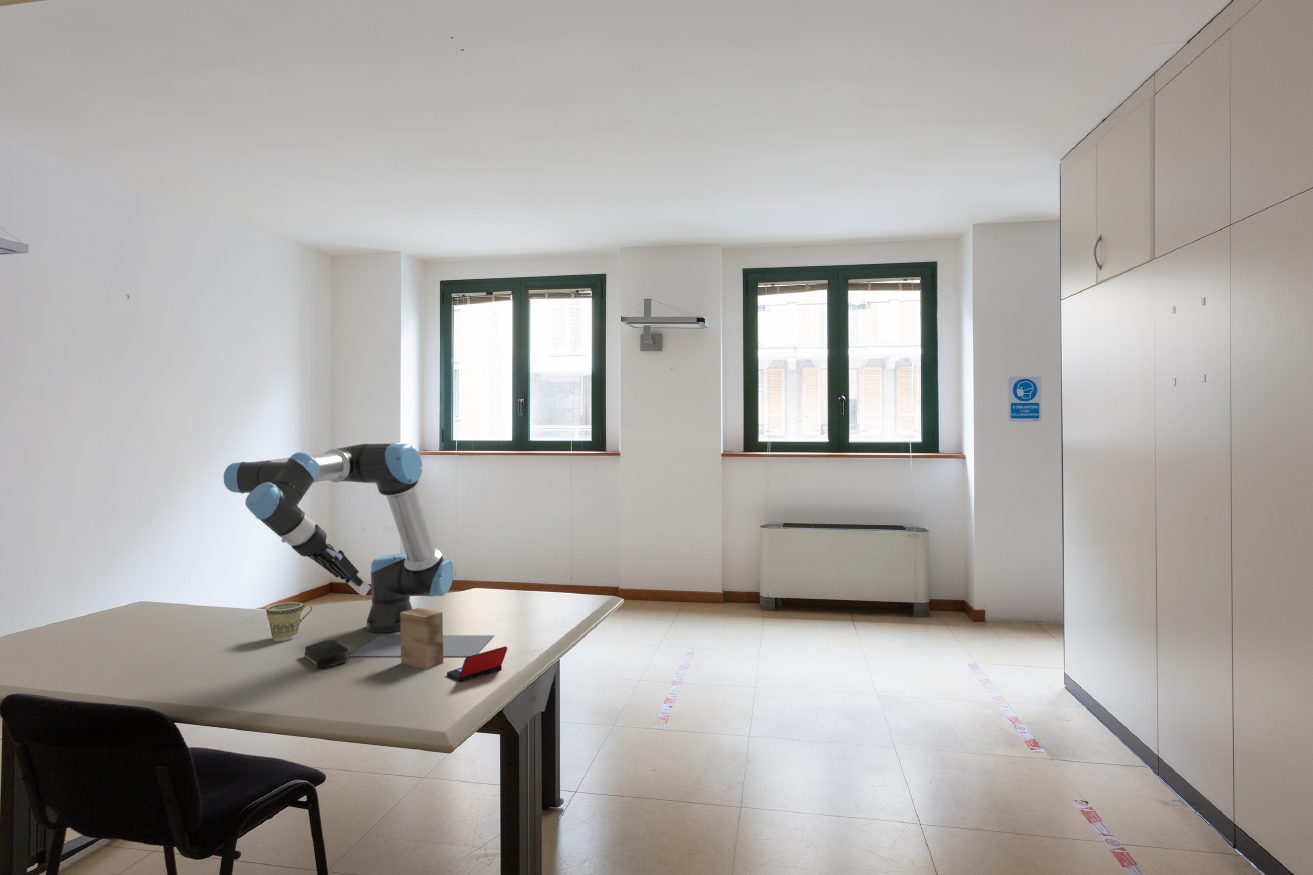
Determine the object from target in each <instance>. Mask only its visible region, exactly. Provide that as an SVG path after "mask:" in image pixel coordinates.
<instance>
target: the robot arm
mask: <svg viewBox="0 0 1313 875" xmlns="http://www.w3.org/2000/svg"><path fill="white" fill-rule="evenodd" d="M422 462H423V461H422V458H421V455H420V453H419V452H418V450H417V449H416V448H415V447H414V446H413V445H411V444H408V443H400V442H393V443H360V444H359V443H358V444H355V445H349V446H345V447H341V448H340V447H339V448H332V449H328V450H327V451H326V452H324V453H320V454H319V453H318V454H312V455H311V454H308V453H305V452H295V453H293V454H291V456H290V457H284V458H276V459H269V460H259V461H250V462H249V461H248V462H246V461H240V462H233V463H230V464H229V465H227V466H226V468H225V470H224V473H223V476H222V477H223V483H224V486H225V488H226V489H227V490H228V491H229V492H232V493H236V494H237V493H238V494H239V493H240V494H247V496H246V498H245V503H244V504H245V506H246V508H247V509H248V510H249V511H250V512H251V514H252V515H253V516H255V518H256V519H257V520H259V521H261V522H262V523H263V524H264V525H265V526H266V527H267V528H269V529H270V530H272V532H274V533H275V534H276V535H277V536H278V537H279V538H281V540H280V541H281V542H282V543H286V544H288V545H289V546H291V548H292V549H293V550H294V551H295V552H296V553H297V554H298V555H299V556H302V557H307V558H309V559H311V560H312V561H314V562H315V563H316V564H318V565H319V566H320V567H322V568H323V569H325V570H326V571H327V572H329V573H330V574H331V575H333V576H334V577H335V578H336V579H337V578H340V580H342V581H344V582H345V584H346V583H347V584H348V585H349V586H350V587H351V588H352V589H354V591H356V593H358V594H359V595H360V596H363V597H365V596H366V595H367V594H368V592H369V591H370V589H371V606H370V609H369V611H368V612H369V613H368V616H367V619H366V624H365V625H366V628H365V629H366V630H367V631H368V632H372V633H394V632H399V631H400V632H401V626H400V612H404V611H408V610H411V609H414V607H413V606H412V603H411V600H410V599H411V596H414V597H415V596H416V597H431V598H432V597H433V598H434V597H442V596H443V597H444V595H445V594H447V593H448V592H449V590H450V588H451V587H452V583H453V580H454V576H455V569H454V568H455V567H454V563H453V562H452V560H449V559H447V558H446V559H444V557H443V555H442V552H441V550H440V549H439V548H436V547H435V546H434V542H433V540H432V536H431V532H430V529H429V528H428V524H427V521H426V518H425V515H424V514H425V513H424V511H423V508H422V504H421V501H420V499H419V495H418V492H417V489H416V487H417V485H418V484H419V481H420V478H421V476H422V473H423V468H422V467H423V463H422ZM324 481H326V482H327V481H330V482H331V483H340V482H349V483H351V482H352V483H363V484H375V485H376V487H377V490H378V492H379V494H380V495H382V496H385V497H386V500H387V502H388V506H389V508H390V511H391V514H392V517H393V520H394V523H395V526H396V528H397V531H398V534H399V538H400V541H401V545H402V547H403V550H404V552H402V553H395V554H389V555H384V556H380V557H377V558H374V559H373V560H371V566H370V582H371V583H370V584H371V586H370V585H369V584H368V582H367V581H365V580H364V579H363V578H362V577H360V575H358V574H359V569H357V568H356V566H354V564H353V562H351V561H350V560H349V559H348V557H347V556H346V555H345V553H344V551H343V550H340V549H339V550H338V551H337V550H336V549H334V547H333V546H332V545H331V544H330V543H327V537H328V536H327V532H326V531H325V530H324V529H323V528H322V527H320V526H319V525H318V524H316V522H315V521H314V520H313V519H312V518H311V517H310V516H309V515H308V514H307V513H306V512H305V511H303V510H302V509H301V507H299V506H298V505H299V504H300V502H301V501H302V499H304V498H303V497H304V496H305V495H306V493H307V492H308V491H309V489H310V487H311V486H312V485H313V483H319V482H324Z"/></svg>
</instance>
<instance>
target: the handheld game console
mask: <svg viewBox="0 0 1313 875" xmlns="http://www.w3.org/2000/svg"><path fill="white" fill-rule="evenodd" d="M507 651H508V647H507V646H505V645H504V646H501V647H498V648H494V649H491V650H487V651H483V652H479V653H478V654H476V655H472V656H469V657H465V659H463V660H464V661H463V663H462V666H461V667H459V668H455V669H452V670H449V671H447V672H446V676H447V677H448V678H451V679H453V680H455V681H457V682H459V683H463V682H465V681H470V680H473V679H475V678H477V677H480V676H486V675H490V674H493V673H496V672H500V671H502V669H503V668H502V667H503V666H502V665H503V662H504V659H505V657H506V654H507Z"/></svg>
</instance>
